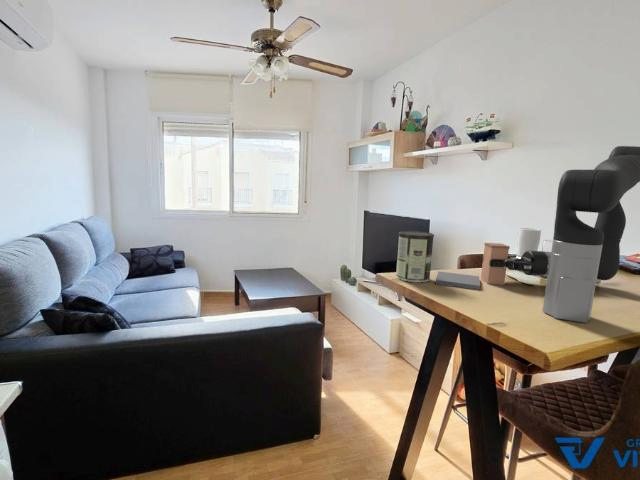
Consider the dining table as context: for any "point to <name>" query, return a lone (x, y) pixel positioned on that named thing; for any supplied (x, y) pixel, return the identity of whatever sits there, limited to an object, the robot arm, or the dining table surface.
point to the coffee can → (414, 256)
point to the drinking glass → (528, 240)
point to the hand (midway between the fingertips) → (486, 260)
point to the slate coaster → (458, 280)
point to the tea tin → (494, 273)
